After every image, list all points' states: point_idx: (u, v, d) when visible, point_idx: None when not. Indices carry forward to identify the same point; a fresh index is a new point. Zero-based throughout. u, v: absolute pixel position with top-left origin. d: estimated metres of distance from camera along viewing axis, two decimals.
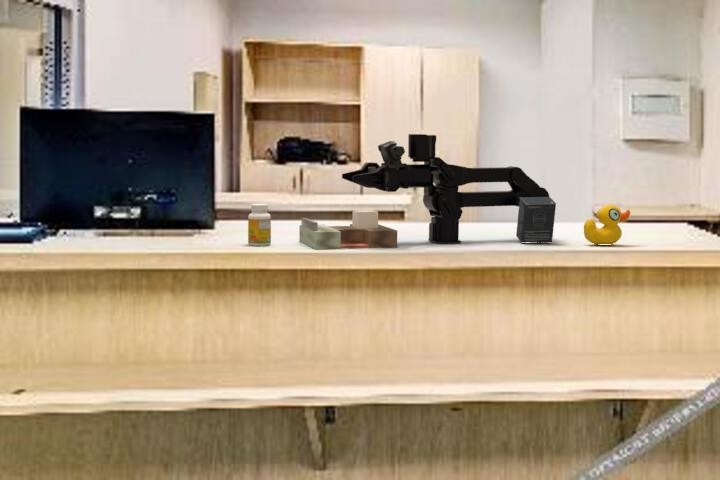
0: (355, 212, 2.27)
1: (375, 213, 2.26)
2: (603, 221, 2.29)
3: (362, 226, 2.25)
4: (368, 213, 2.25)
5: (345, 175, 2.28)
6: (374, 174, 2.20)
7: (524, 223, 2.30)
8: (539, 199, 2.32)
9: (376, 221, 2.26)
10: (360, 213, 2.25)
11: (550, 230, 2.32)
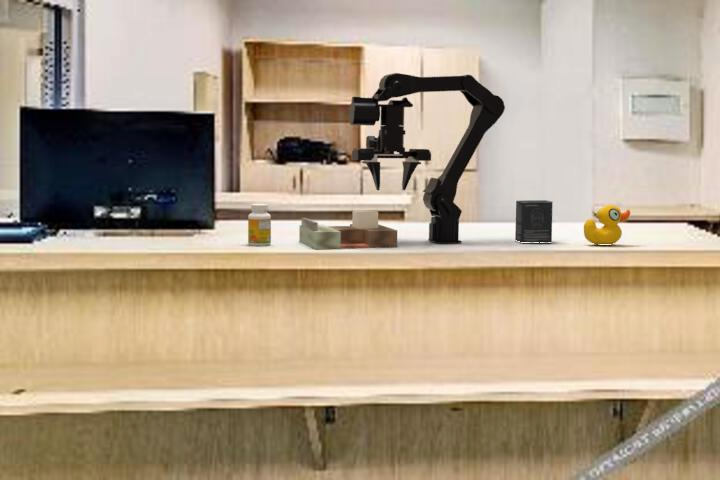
0: (355, 212, 2.27)
1: (375, 213, 2.26)
2: (603, 221, 2.29)
3: (362, 226, 2.25)
4: (368, 213, 2.25)
5: (402, 186, 2.30)
6: (371, 170, 2.28)
7: (523, 222, 2.31)
8: None
9: (376, 221, 2.26)
10: (360, 213, 2.25)
11: (548, 230, 2.33)
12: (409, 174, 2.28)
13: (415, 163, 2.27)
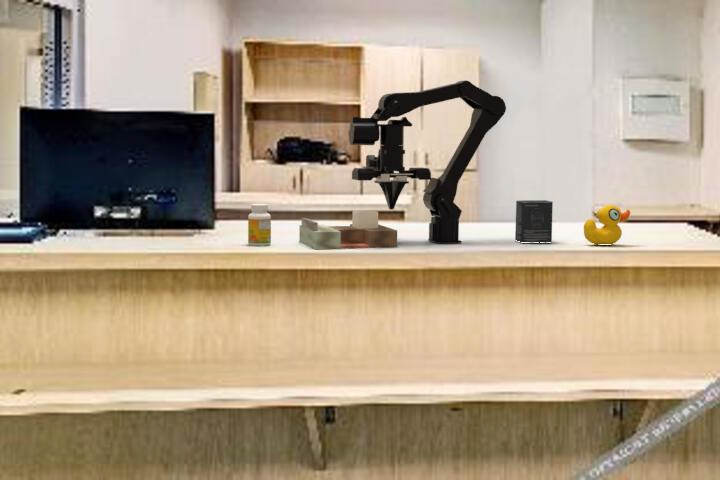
0: (355, 212, 2.27)
1: (375, 213, 2.26)
2: (603, 221, 2.29)
3: (362, 226, 2.25)
4: (368, 213, 2.25)
5: None
6: (383, 189, 2.29)
7: (523, 222, 2.31)
8: None
9: (376, 221, 2.26)
10: (360, 213, 2.25)
11: (549, 230, 2.33)
12: (397, 193, 2.27)
13: (403, 182, 2.26)
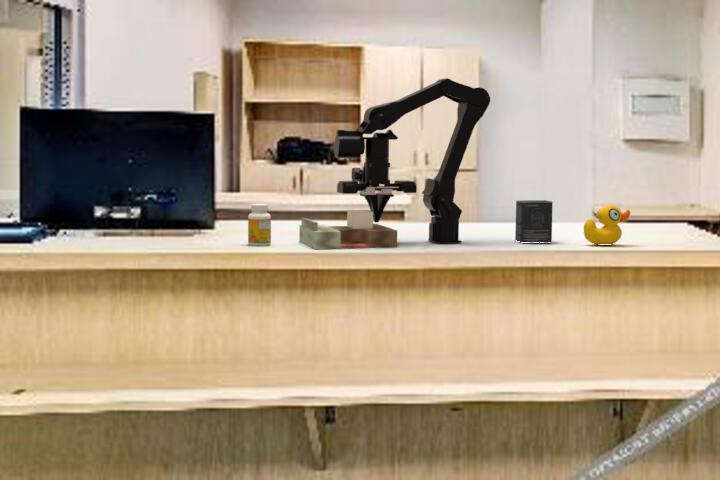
0: (350, 212, 2.26)
1: (370, 213, 2.25)
2: (603, 221, 2.29)
3: (357, 226, 2.25)
4: (363, 213, 2.25)
5: None
6: (369, 202, 2.29)
7: (523, 222, 2.31)
8: None
9: (371, 221, 2.26)
10: (355, 213, 2.24)
11: (548, 230, 2.33)
12: (382, 206, 2.27)
13: (388, 196, 2.26)
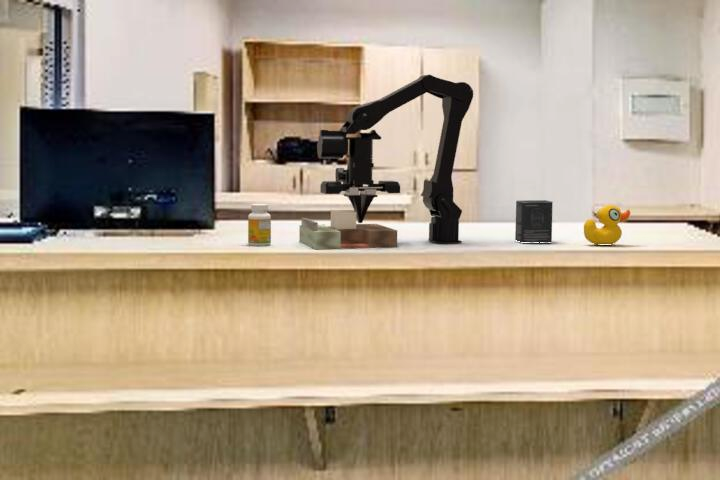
0: (333, 212, 2.25)
1: (353, 213, 2.24)
2: (603, 221, 2.29)
3: (340, 226, 2.24)
4: (346, 213, 2.24)
5: None
6: (352, 203, 2.27)
7: (523, 222, 2.31)
8: None
9: (354, 221, 2.24)
10: (338, 213, 2.23)
11: (548, 230, 2.33)
12: (365, 207, 2.25)
13: (371, 196, 2.25)
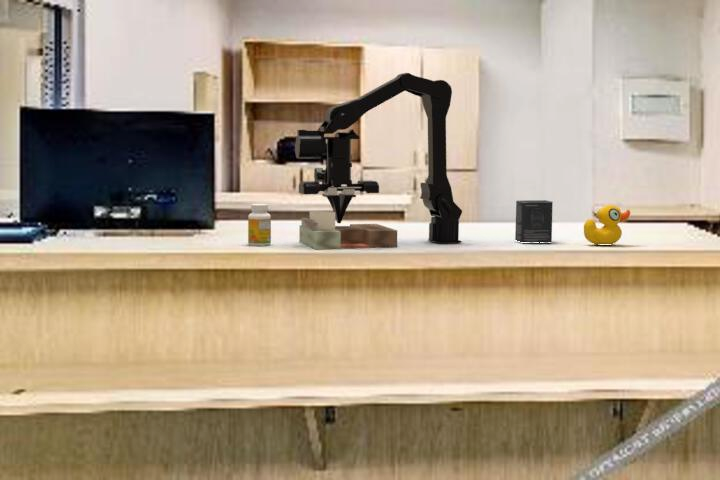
0: (312, 213, 2.24)
1: (332, 214, 2.22)
2: (603, 221, 2.29)
3: (319, 226, 2.22)
4: (325, 214, 2.22)
5: None
6: (331, 203, 2.26)
7: (523, 222, 2.31)
8: None
9: (333, 222, 2.23)
10: (316, 214, 2.21)
11: (548, 230, 2.33)
12: (344, 207, 2.24)
13: (350, 196, 2.23)
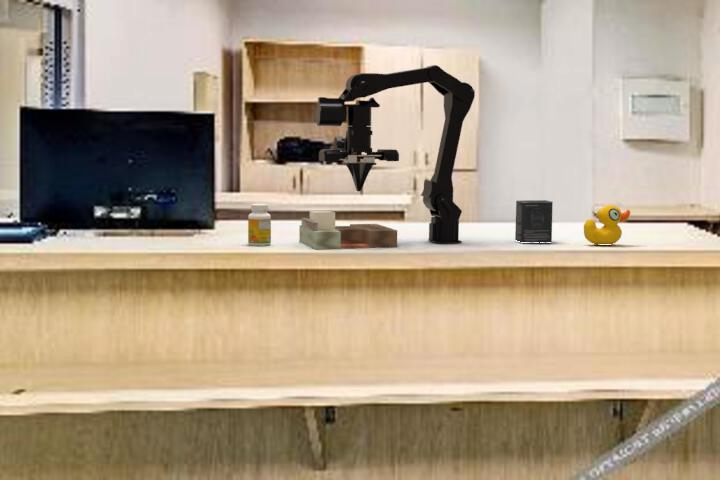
0: (312, 213, 2.24)
1: (332, 214, 2.22)
2: (603, 221, 2.29)
3: (319, 226, 2.22)
4: (325, 214, 2.22)
5: None
6: (351, 171, 2.27)
7: (523, 222, 2.31)
8: None
9: (333, 222, 2.23)
10: (316, 214, 2.21)
11: (548, 230, 2.33)
12: (364, 175, 2.25)
13: (370, 164, 2.24)
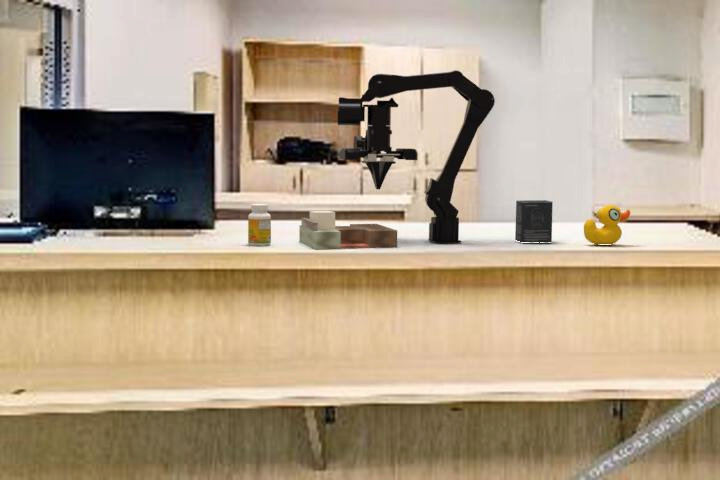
0: (312, 213, 2.24)
1: (332, 214, 2.22)
2: (603, 221, 2.29)
3: (319, 226, 2.22)
4: (325, 214, 2.22)
5: None
6: (370, 169, 2.32)
7: (523, 222, 2.31)
8: None
9: (333, 222, 2.23)
10: (316, 214, 2.21)
11: (548, 230, 2.33)
12: (384, 173, 2.30)
13: (389, 162, 2.29)
